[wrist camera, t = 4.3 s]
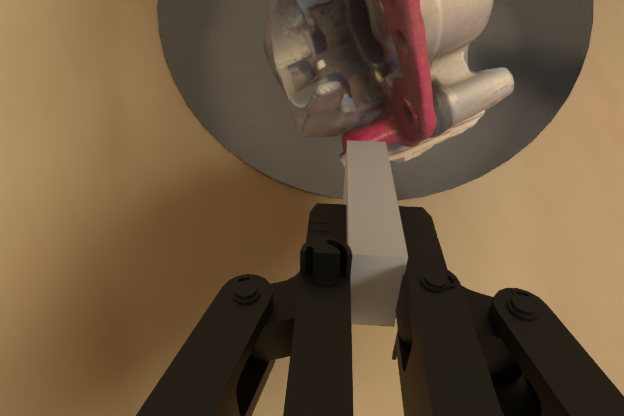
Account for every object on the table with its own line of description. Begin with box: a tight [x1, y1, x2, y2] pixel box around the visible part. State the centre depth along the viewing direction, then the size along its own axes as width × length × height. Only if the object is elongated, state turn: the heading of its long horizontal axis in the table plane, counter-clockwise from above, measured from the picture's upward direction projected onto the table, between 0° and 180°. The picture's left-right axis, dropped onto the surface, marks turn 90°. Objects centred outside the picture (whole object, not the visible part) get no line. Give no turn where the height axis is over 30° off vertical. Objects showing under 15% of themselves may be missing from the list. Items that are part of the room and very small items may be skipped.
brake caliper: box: [263, 0, 514, 167], centre depth 17 cm, size 11×11×12 cm
